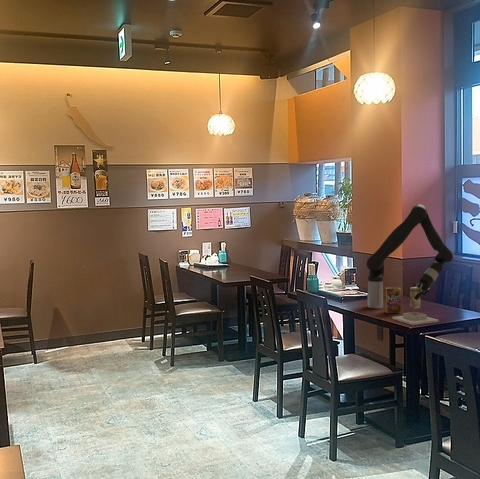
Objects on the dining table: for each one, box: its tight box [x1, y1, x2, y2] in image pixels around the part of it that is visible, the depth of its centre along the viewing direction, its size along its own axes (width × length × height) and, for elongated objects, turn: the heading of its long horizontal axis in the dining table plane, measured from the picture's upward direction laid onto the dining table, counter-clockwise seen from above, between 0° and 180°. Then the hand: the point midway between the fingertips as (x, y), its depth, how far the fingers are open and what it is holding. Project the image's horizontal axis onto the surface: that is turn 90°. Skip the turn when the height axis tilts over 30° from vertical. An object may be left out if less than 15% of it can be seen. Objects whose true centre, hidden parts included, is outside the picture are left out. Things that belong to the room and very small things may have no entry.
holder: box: [391, 311, 439, 326], centre depth 332 cm, size 18×18×4 cm
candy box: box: [384, 287, 402, 314], centre depth 355 cm, size 9×4×15 cm, turn 81°
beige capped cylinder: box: [409, 286, 421, 309], centre depth 347 cm, size 4×4×12 cm
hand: (412, 298), depth 347 cm, fingers closed on beige capped cylinder, 4 cm apart
